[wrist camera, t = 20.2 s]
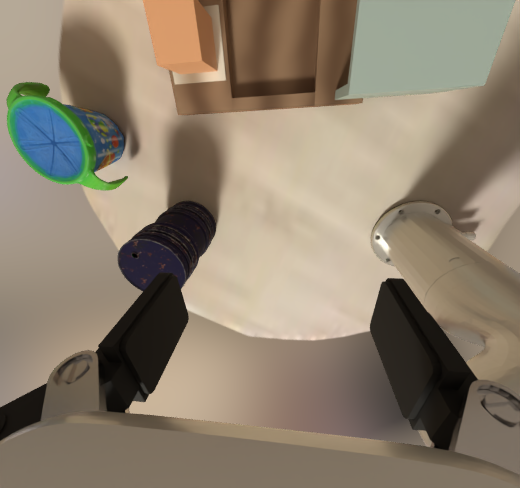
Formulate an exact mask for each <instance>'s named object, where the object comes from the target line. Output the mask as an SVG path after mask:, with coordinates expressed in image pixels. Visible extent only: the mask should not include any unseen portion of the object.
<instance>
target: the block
mask: <svg viewBox="0 0 520 488" xmlns="http://www.w3.org/2000/svg"><path fill="white" fill-rule="evenodd" d="M143 3H144V7H145V12H146V16H147V21H148V25H149V30H150V34H151V39H152V43H153V48H154V52H155V57H156V62H157V65H158V66H161V67H163V68H166V69H168V70H171V71H173V72H176V73H178V74H192V73H203V72H214V71H218V69H217V61H216V52H215V44H214V35H213V26H212V18H211V16H210V15H209V14H208V13H207V11H206V10H205V9H204V7H203V6H202V5H201V4H200V2H199V1H198V0H143Z"/></svg>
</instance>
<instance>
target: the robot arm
mask: <svg viewBox="0 0 520 488" xmlns="http://www.w3.org/2000/svg"><path fill="white" fill-rule="evenodd" d="M475 237H476V234H475V233H474V232H460V231H459V230H457V229H456V228H454V227H453V226H452V220H451V217H450V216H449V214H448V213H447V212H446V211H445V210H444V209H443V208H441V207H440V206H438V205H436V204H433V203H431V202H425V201H415V202H409V203H405V204H402V205H399V206H397V207H395V208H393V209H392V210H390V211H389V212H387V213H386V214H385V215H384V216H383V217H382V218H381V219H380V220H379V221H378V222H377V224H376V225H375V227H374V229H373V232H372V235H371V246H372V249H373V251H374V253H375V254H376V256H377V257H378V258H379V259H380V260H381V261H382V262H384V263H386V264H388V265H391V266H395V267H396V268H397V270H398V271H399V273H400V274H401V275H402V277H403V278H404V279H395V278H388V279H387V280H386V282H382V284H381V287H380V291H379V294H378V298H377V302H376V305H375V309H374V312H373V316H372V320H371V323H370V331H371V334H372V337H373V339H374V342H375V345H376V347H377V350H378V352H379V355H380V357H381V360H382V363H383V366H384V368H385V371H386V373H387V376H388V379H389V381H390V384H391V386H392V389H393V392H394V394H395V397H396V399H397V402H398V405H399V407H400V410H401V412H402V415H403V416H404V417H405V418H406V419H409V421H410V424H411V426H412V429H413V430H418V431H419V433H420V435H421V437H422V439H423V441H424V443H425V445H426V446H427V447H426V446H418V445H411V444H404V443H396V442H388V441H381V440H373V439H365V438H356V437H346V436H339V435H329V434H321V433H312V432H304V431H295V430H286V429H277V428H268V427H258V426H249V425H240V424H231V423H222V422H212V421H203V420H193V419H183V418H174V417H164V416H154V415H143V414H130V412H129V406H130V405H131V403H132V401H139V402H145V401H146V399H147V397H148V395H149V394H151V393H152V392H153V391H154V390H155V388H156V386H157V384H158V382H159V380H160V378H161V375H162V374H163V371H164V369H165V368H166V365H167V364H168V361H169V359H170V357H171V355H172V353H173V351H174V349H175V347H176V345H177V343H178V341H179V339H180V337H181V335H182V332H183V331H184V329H185V327H186V324H187V323H188V312H187V309H186V306H185V302H184V299H183V295H182V292H181V289H180V285H179V282H178V278H177V277H176V276H174V274H173V273H163V272H161V273H159V274H158V275H157V276H156V277H155V278H154V279H153V281H152V282H151V283H150V284H149V285H148V287H147V288H146V289H145V290H144V291H143V293H142V294H141V295H140V296H139V297H138V299H137V300H136V301H135V302H134V304H133V305H132V306H131V307H130V308H129V309H128V311H127V312H126V313H125V314H124V316H123V317H122V318H121V319H120V320H119V321H118V323H117V324H116V325H115V326H114V327H113V329H112V330H111V331H110V332H109V334H108V335H107V336H106V337H105V338H104V340H103V341H102V342H101V343H100V344H99V346H98V347H99V348H98V350H97V351H96V352H94V351H90V350H87V351H81V352H78V353H75V354H73V355H72V356H70V357H68V358H66V359H65V360H64V361H62V362H61V363H60V364H59V365H58V366H57V367H56V368H55V369H54V370H53V372H52V373H51V375H50V376H49V379H48V382H47V383H46V384H44V385H42V386H41V387H39V388H37V389H35V390H33V391H31V392H29V393H27V394H25V395H23V396H21V397H19V398H17V399H16V400H14V401H12V402H10V403H8V404H6V405H4V406H2V407H0V488H520V273H518V272H517V271H515V270H514V269H512V268H511V267H509V266H507V265H506V264H504V263H503V262H501V261H500V260H498V259H497V258H495V257H494V256H492V255H491V254H489V253H488V252H487V251H485V250H484V249H482V248H481V247H479V246H478V245H476V244H475V243H473V242H472V241H470V240H474V239H475ZM406 282H407V283H406ZM408 285H409V286H408ZM411 289H412V290H411ZM413 292H414V293H415V294H414V293H413ZM416 296H417V297H416ZM418 299H419V300H420V301H419V300H418ZM421 303H422V304H421ZM423 306H424V307H425V308H424V307H423ZM426 310H427V311H426ZM440 327H441V328H442V329H444V330H445V331H446V332H448V333H450V334H451V335H453V336H455V337H457V338H459V339H462V340H464V341H467V342H470V343H473V344H477V345H480V346H483V347H484V349H483V350H482V351H481V352H480V353H479V354H477V355H476V356H474V357H472V358H471V359H470V360H469V361H467V362H465V361H464V359H463V358H462V357H461V355H460V354H459V353H458V351H457V350H456V348H455V347H454V346H453V344H452V343H451V341H450V340H449V339H448V337H447V336H446V334H445V333H444V332H443V330H442V329H441V328H440Z"/></svg>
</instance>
